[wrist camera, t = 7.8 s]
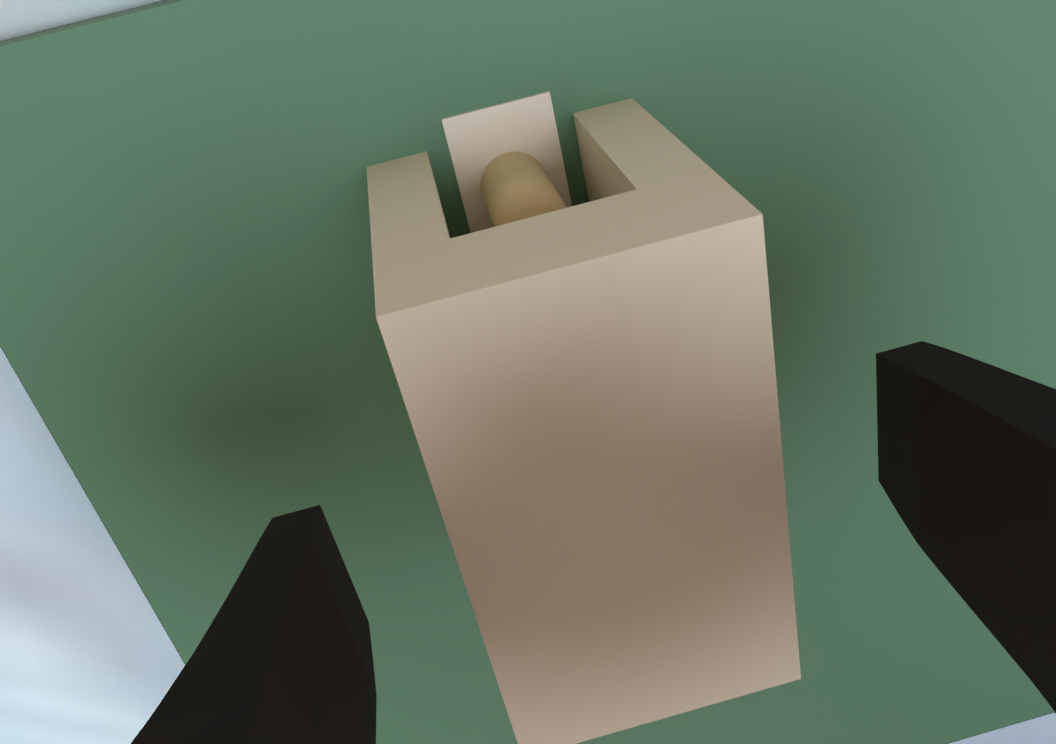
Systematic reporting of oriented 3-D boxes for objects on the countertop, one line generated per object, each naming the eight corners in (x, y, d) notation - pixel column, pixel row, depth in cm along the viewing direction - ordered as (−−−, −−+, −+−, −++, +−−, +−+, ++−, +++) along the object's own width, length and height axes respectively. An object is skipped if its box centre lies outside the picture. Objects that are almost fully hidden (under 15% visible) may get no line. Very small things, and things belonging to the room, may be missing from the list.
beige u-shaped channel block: (687, 471, 17) (801, 679, 13) (478, 528, 17) (522, 759, 13) (631, 97, 14) (762, 213, 9) (366, 166, 14) (376, 317, 9)
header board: (1260, 628, 24) (1372, 724, 21) (335, 898, 23) (334, 1033, 20) (1533, -343, 13) (1816, -387, 11) (-132, 74, 12) (-256, 134, 10)
